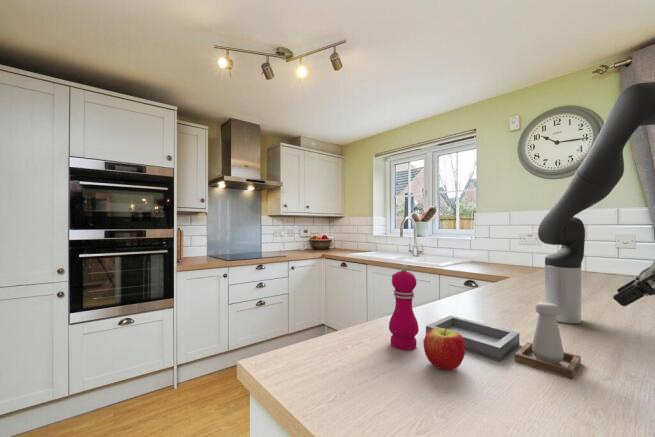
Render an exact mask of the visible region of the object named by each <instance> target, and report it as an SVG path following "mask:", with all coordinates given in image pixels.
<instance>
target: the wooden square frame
mask: <svg viewBox="0 0 655 437" xmlns="http://www.w3.org/2000/svg"><path fill="white" fill-rule="evenodd" d="M532 344H533V342H528V341H526V343H525V344H524V345H523V346H522V347H520V348H519V349H518V350H517V351H516V352H515V353H514V361H515V362H518V363H521V364H524V365H527V366H530V367H534V368H537V369H539V370H543V371H545V372H550V373H552V374H555V375H559V376H562V377H565V378H568V379H573V378H574V377H575V375H576V373H577V371H578V369H579V368H580V365H582V364H581V362H582V359H581V358H582V356H581V355H579V354H574V353H569V352H565V351H564V358H563V359H562V360H563V361H565V362H568V365H567V367H566V366H563V365H560V364H558V365H556V364H553V363H549V362H546V361H543V360H539V359H536V357H532V356H529V355H528V354H529V353H531V352H533V351H532Z"/></svg>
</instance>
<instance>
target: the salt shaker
mask: <svg viewBox="0 0 655 437" xmlns="http://www.w3.org/2000/svg"><path fill="white" fill-rule="evenodd" d="M535 312H536V313H537V314H538V317H537V321H536V327H535V330H534V334H533V335H534V336H533V339H532V343H533V344H532V351H531V352H532V353H533V355H534V358H536V359H539V360H543V361H546V362H549V363H553V364H556V365H560V363H561V362H562V359H563V358H564V352H565V351H564V348H563V343H562V338H561V334H560V328H559V323H558V321H557V318H556V316H558V315H559V312H560V310H559V307H558V306H557V305H555V304H553V303H548V302H545V301H539V302H538V301H537V303H536V305H535Z"/></svg>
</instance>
